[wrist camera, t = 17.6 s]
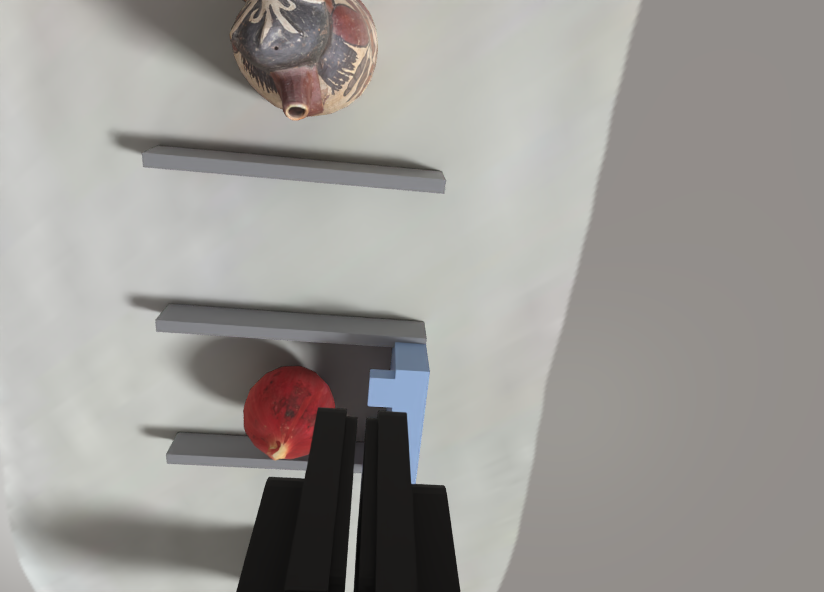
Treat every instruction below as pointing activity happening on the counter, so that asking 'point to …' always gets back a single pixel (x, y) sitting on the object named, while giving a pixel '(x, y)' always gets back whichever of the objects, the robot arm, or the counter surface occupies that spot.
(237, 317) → the grey parallel strips
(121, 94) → the counter surface
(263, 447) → the pomegranate
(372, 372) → the blue bracket
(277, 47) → the painted ceramic spouted vessel
